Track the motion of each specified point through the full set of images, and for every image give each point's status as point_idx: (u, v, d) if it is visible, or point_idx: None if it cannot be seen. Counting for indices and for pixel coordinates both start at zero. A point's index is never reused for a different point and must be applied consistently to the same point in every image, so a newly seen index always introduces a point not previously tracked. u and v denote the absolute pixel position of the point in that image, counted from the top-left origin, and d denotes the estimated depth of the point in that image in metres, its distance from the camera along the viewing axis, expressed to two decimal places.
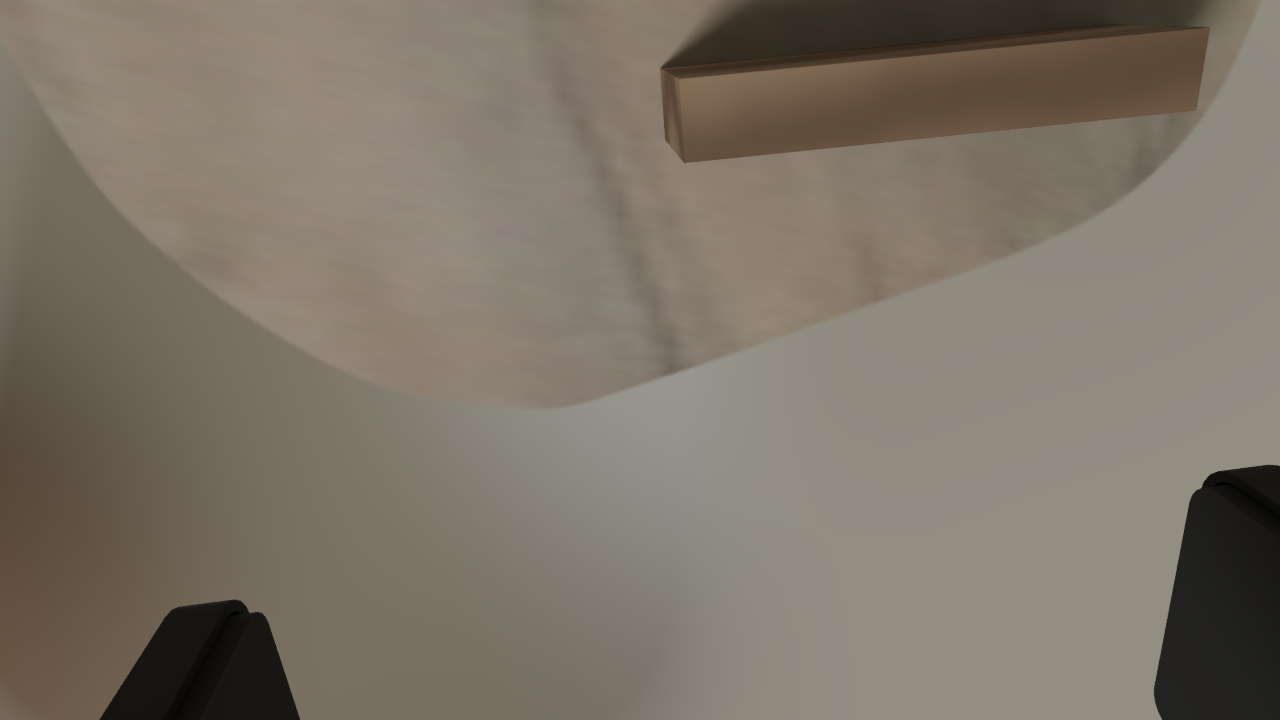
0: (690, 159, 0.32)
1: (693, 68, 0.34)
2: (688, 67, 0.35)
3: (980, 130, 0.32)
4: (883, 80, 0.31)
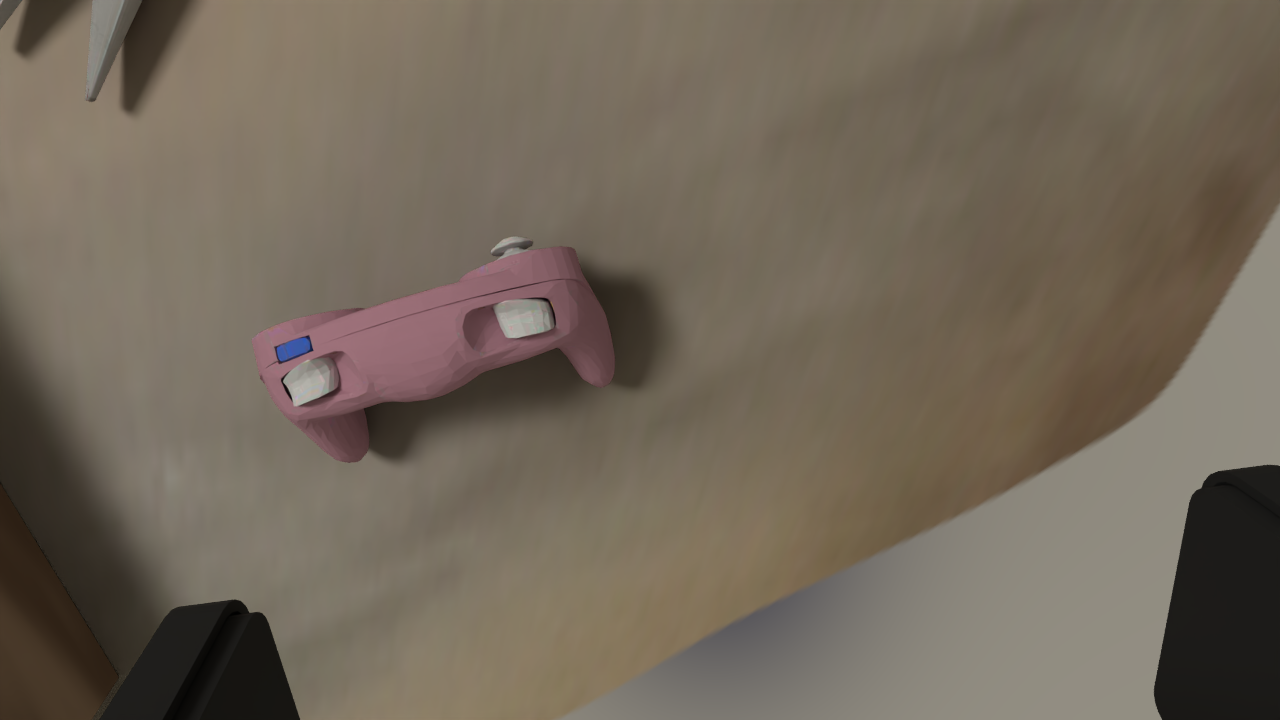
0: None
1: None
2: None
3: None
4: None
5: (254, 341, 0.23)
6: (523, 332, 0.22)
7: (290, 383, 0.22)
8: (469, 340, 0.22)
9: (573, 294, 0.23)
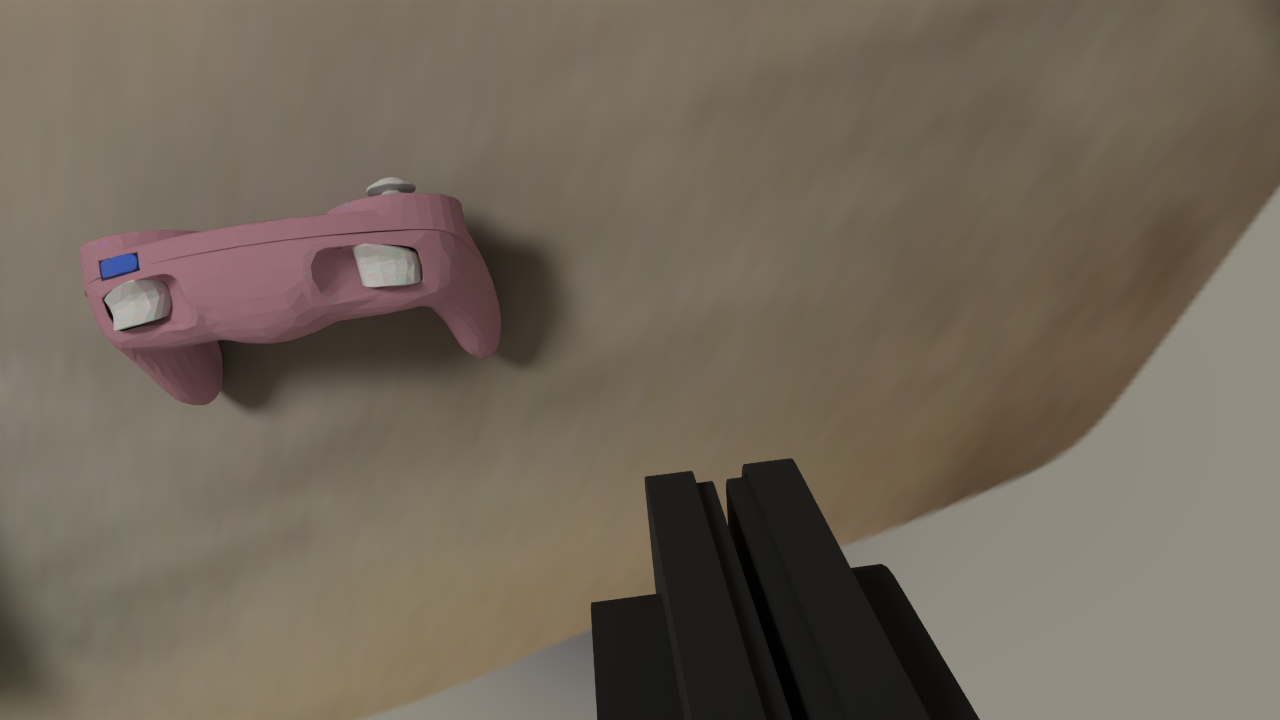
0: None
1: None
2: None
3: None
4: None
5: (80, 252, 0.20)
6: (381, 282, 0.20)
7: (111, 303, 0.20)
8: (318, 282, 0.19)
9: (447, 249, 0.21)
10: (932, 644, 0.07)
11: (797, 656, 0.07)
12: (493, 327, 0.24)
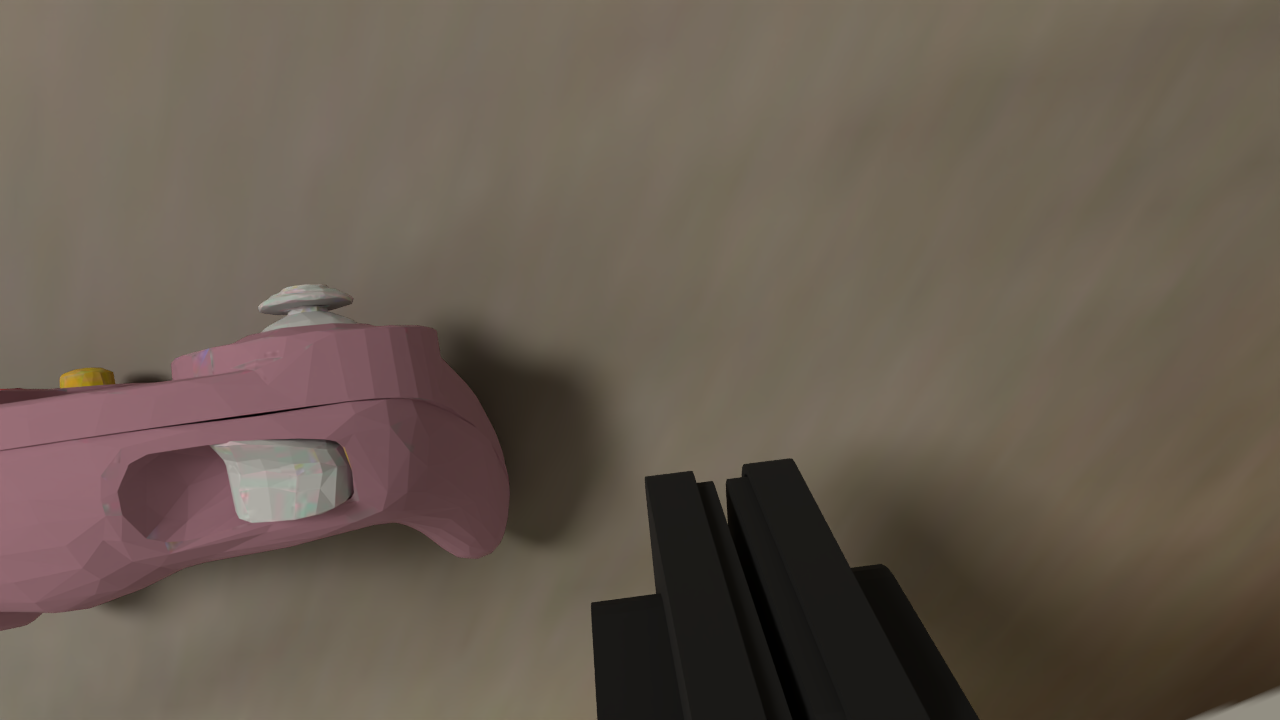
0: None
1: None
2: None
3: None
4: None
5: None
6: (268, 512, 0.10)
7: None
8: (137, 518, 0.10)
9: (404, 431, 0.11)
10: (932, 644, 0.07)
11: (797, 656, 0.07)
12: (495, 518, 0.14)
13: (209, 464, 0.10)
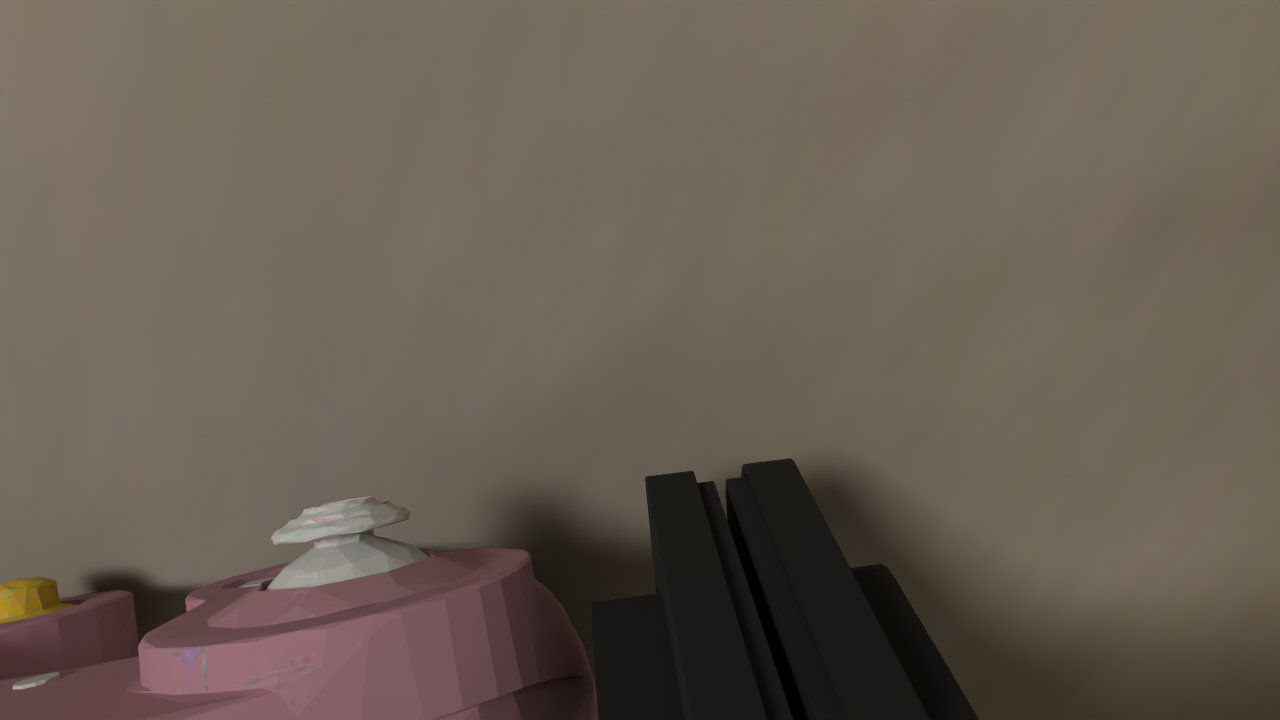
0: None
1: None
2: None
3: None
4: None
5: None
6: None
7: None
8: None
9: None
10: (931, 644, 0.07)
11: (796, 656, 0.07)
12: None
13: None
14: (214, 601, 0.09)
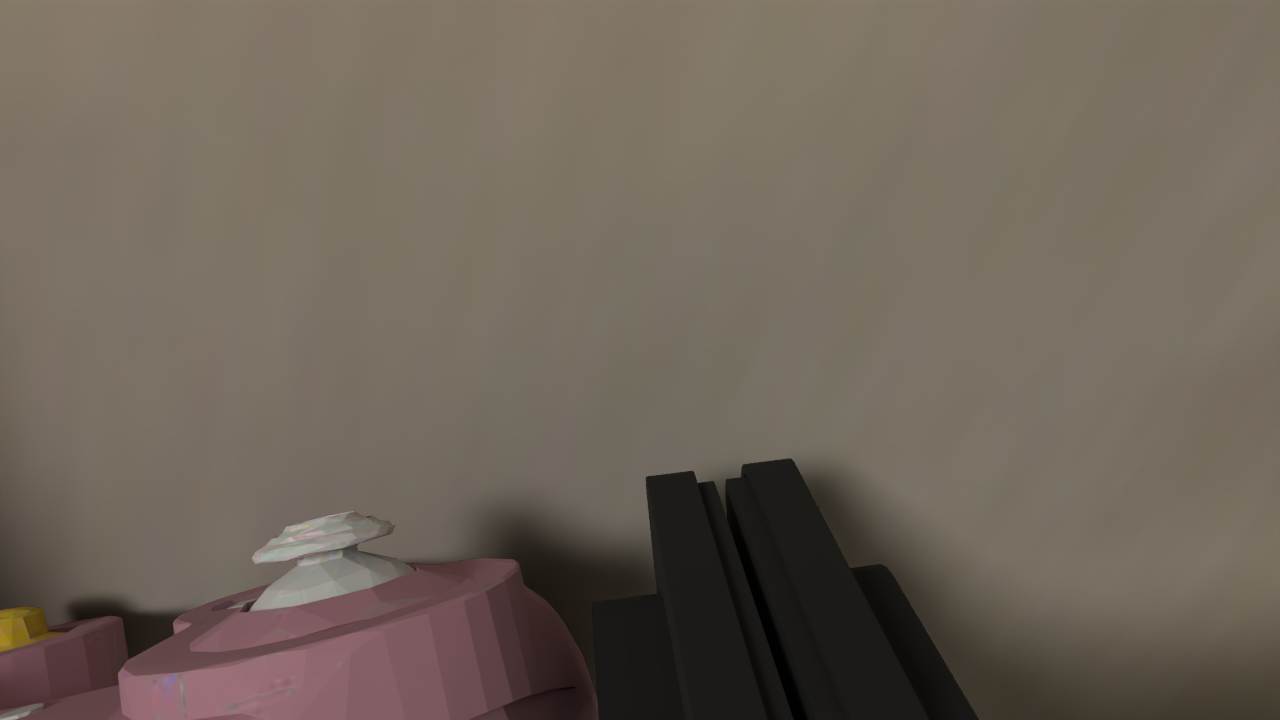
0: None
1: None
2: None
3: None
4: None
5: None
6: None
7: None
8: None
9: None
10: (931, 644, 0.07)
11: (796, 656, 0.07)
12: None
13: None
14: (200, 624, 0.08)
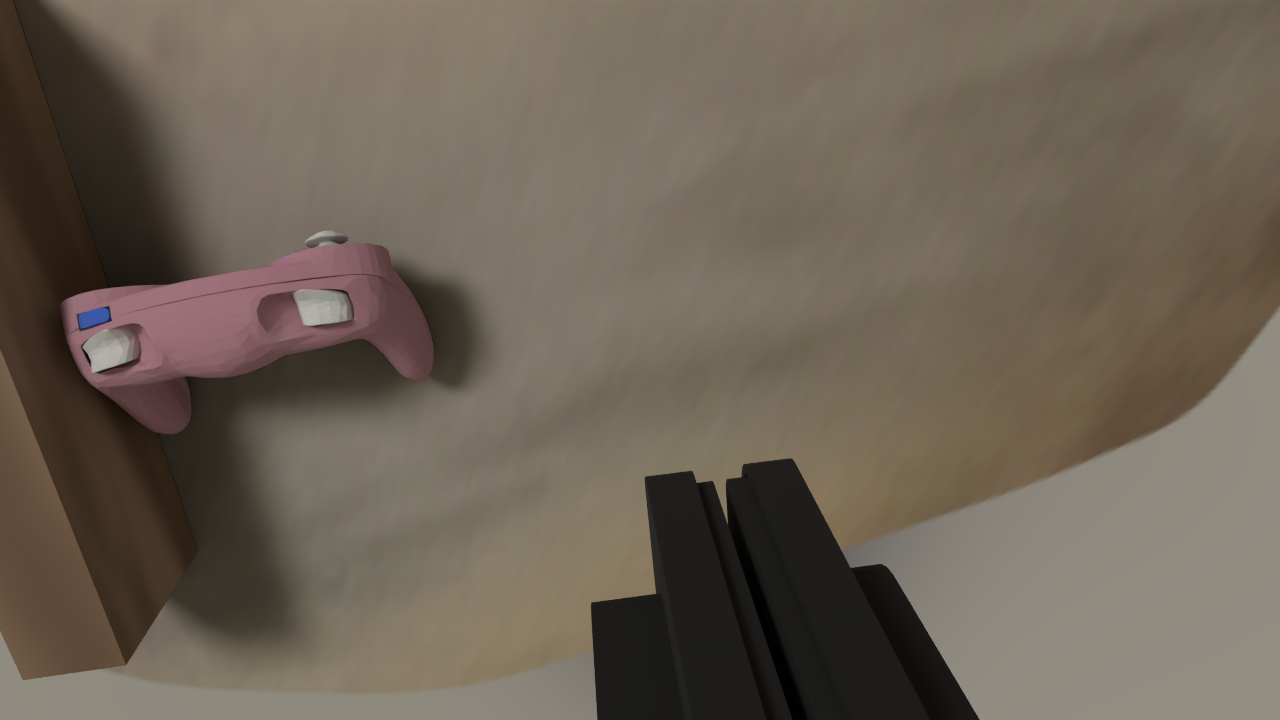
0: None
1: None
2: None
3: None
4: None
5: (61, 308, 0.24)
6: (318, 321, 0.23)
7: (89, 350, 0.23)
8: (263, 323, 0.23)
9: (375, 290, 0.24)
10: (932, 644, 0.07)
11: (797, 656, 0.07)
12: (424, 354, 0.27)
13: (290, 305, 0.24)
14: None
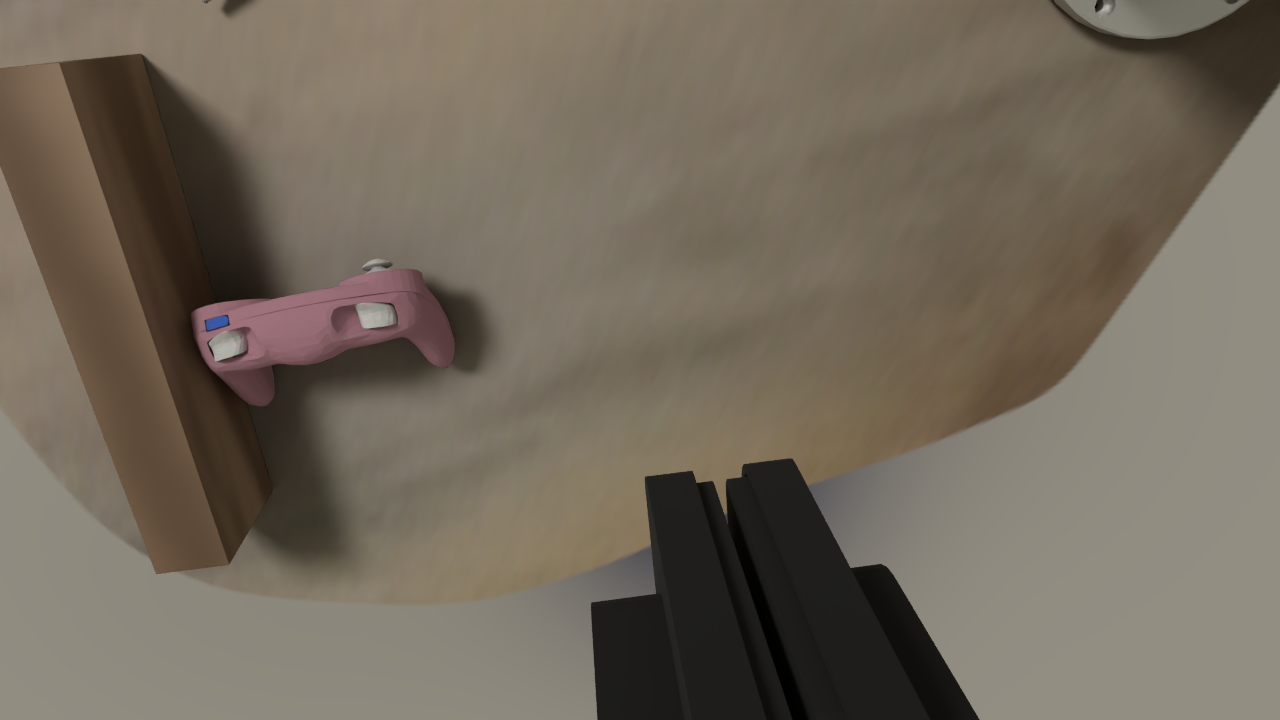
0: None
1: (129, 88, 0.32)
2: (137, 84, 0.33)
3: (87, 388, 0.32)
4: (112, 284, 0.31)
5: (191, 315, 0.34)
6: (373, 325, 0.33)
7: (213, 345, 0.33)
8: (335, 327, 0.33)
9: (412, 302, 0.34)
10: (932, 644, 0.07)
11: (797, 656, 0.07)
12: (447, 347, 0.37)
13: (353, 313, 0.33)
14: None
